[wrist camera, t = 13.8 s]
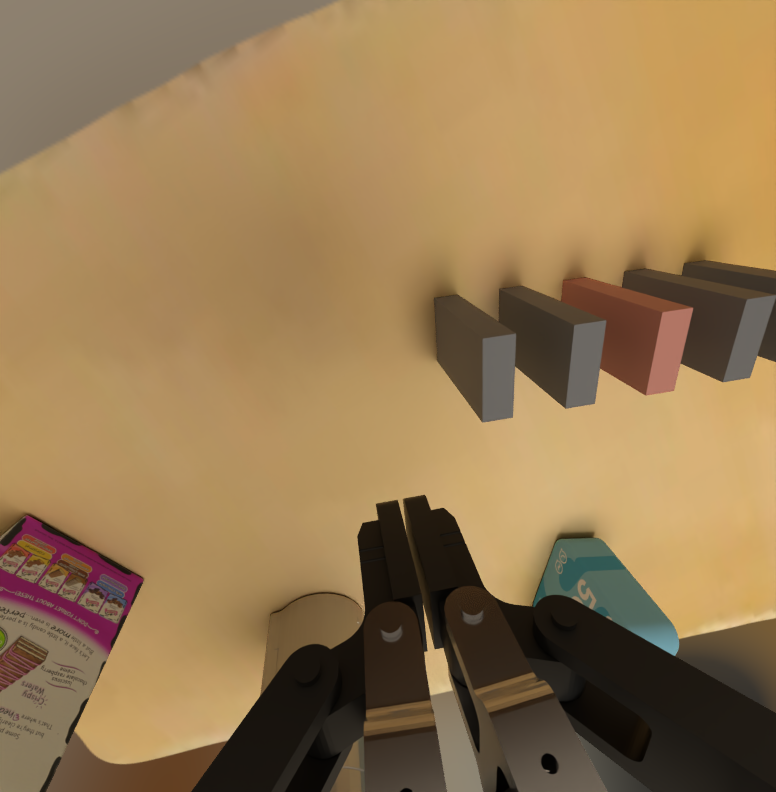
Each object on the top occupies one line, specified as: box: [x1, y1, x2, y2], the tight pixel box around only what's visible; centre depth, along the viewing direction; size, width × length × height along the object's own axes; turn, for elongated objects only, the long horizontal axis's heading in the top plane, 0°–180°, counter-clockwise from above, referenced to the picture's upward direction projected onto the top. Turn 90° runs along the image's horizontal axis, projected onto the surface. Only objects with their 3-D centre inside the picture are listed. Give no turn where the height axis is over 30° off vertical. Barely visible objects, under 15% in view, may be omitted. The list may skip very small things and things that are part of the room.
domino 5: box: [682, 260, 776, 362], centre depth 28 cm, size 2×5×10 cm, turn 6°
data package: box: [533, 538, 679, 656], centre depth 40 cm, size 12×4×12 cm, turn 174°
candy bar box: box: [0, 515, 144, 792], centre depth 28 cm, size 11×5×16 cm, turn 38°
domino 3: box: [561, 277, 693, 395], centre depth 27 cm, size 2×5×10 cm, turn 6°
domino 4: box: [622, 269, 776, 382], centre depth 28 cm, size 2×5×10 cm, turn 6°
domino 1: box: [434, 295, 516, 422], centre depth 26 cm, size 2×5×10 cm, turn 6°
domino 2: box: [499, 286, 606, 409], centre depth 27 cm, size 2×5×10 cm, turn 5°
